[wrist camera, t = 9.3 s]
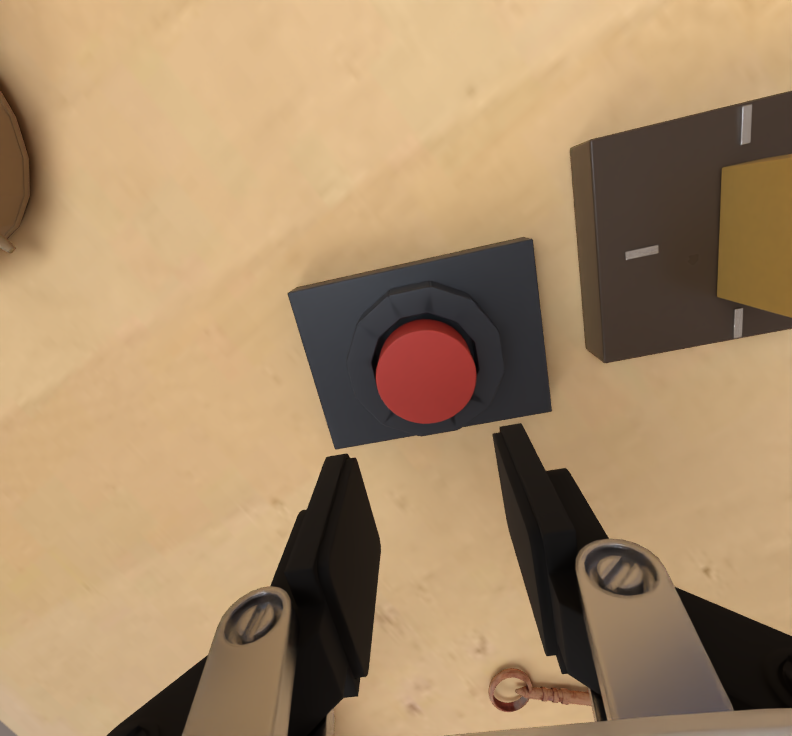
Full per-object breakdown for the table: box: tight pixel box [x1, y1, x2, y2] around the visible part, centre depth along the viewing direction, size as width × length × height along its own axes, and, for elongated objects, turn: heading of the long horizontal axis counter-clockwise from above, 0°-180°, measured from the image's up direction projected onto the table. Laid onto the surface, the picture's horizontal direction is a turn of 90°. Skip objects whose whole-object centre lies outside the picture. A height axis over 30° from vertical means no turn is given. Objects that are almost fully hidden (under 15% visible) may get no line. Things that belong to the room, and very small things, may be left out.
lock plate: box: [570, 91, 792, 363], centre depth 20 cm, size 12×10×3 cm
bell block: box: [288, 237, 552, 449], centre depth 22 cm, size 12×9×4 cm
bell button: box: [376, 319, 477, 424], centre depth 20 cm, size 4×4×2 cm
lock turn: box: [717, 154, 792, 318], centre depth 16 cm, size 6×2×5 cm, turn 12°
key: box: [489, 668, 592, 712], centre depth 31 cm, size 6×1×15 cm
